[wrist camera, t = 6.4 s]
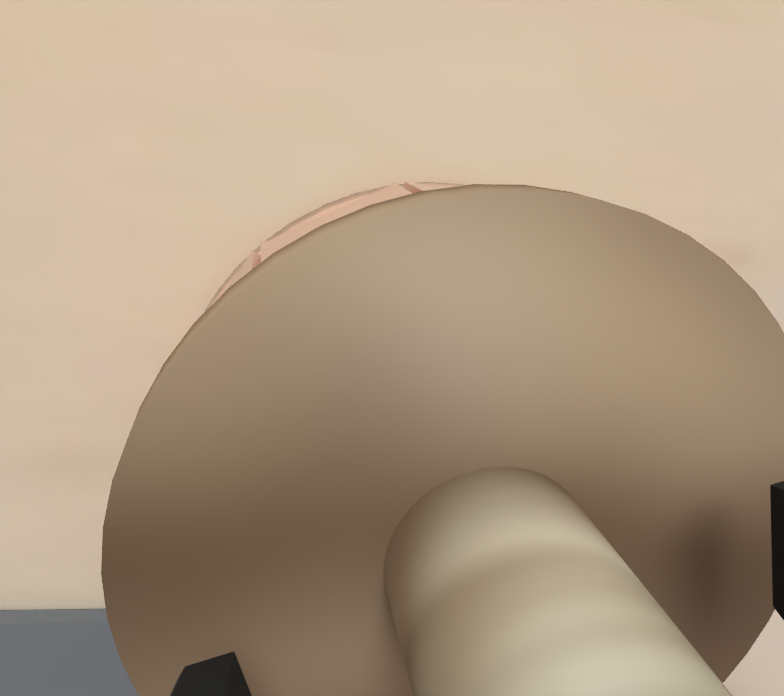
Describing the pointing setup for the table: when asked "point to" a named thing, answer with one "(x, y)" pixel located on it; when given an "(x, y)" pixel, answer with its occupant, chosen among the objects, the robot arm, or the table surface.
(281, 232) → the dish
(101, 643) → the mat
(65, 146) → the table surface
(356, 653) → the lid
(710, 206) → the table surface
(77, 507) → the table surface
